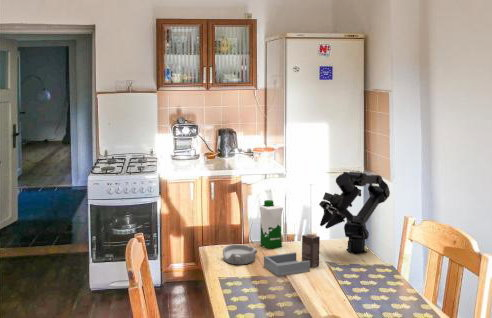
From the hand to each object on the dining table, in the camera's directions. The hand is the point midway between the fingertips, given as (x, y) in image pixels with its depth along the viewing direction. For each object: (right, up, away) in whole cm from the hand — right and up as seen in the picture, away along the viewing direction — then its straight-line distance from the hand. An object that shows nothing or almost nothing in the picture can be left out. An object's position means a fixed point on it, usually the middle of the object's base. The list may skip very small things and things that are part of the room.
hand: (323, 226), depth 230 cm
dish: (-34, -14, +2) cm, 37 cm away
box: (-6, -15, -6) cm, 17 cm away
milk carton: (-20, -11, +20) cm, 31 cm away
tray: (-15, -15, -10) cm, 24 cm away
